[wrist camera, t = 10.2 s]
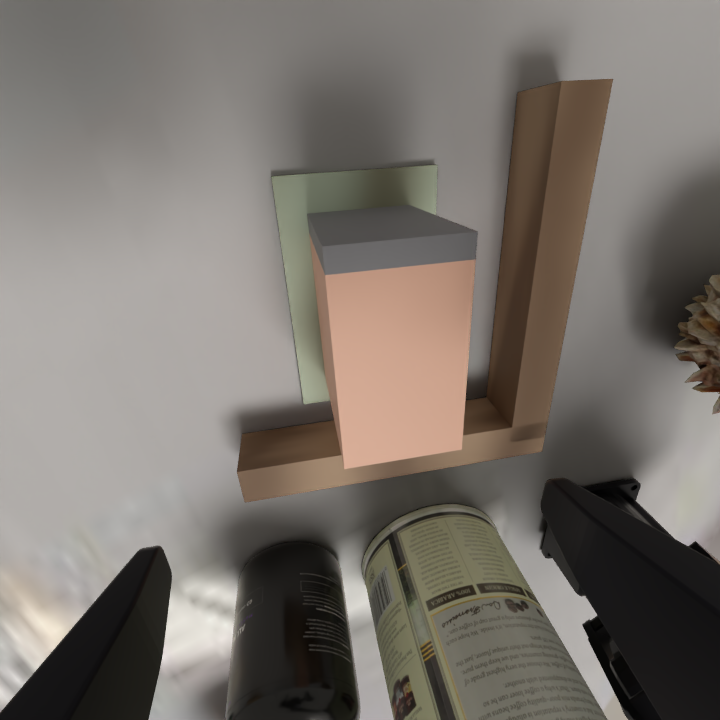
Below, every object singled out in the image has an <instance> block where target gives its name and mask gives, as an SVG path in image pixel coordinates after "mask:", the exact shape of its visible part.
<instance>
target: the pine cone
mask: <svg viewBox="0 0 720 720" xmlns="http://www.w3.org/2000/svg"><path fill="white" fill-rule="evenodd" d="M709 283H710V285H711V286H709V285H704V287H705V290H706V293H707V295H708V297H707V296H705V295H699V296H696V297H694V298H692V299H693V300H695V301H696V303H693V304H689V305H687V306H686V307H685V308H686V309H688V310H689V311H690V312H691V313H692V314H693V316H692V317H689V318H688V319H689V321H688V322H680V323H679V324H678V327H679V329H680V331H681V332H680V333H679V335H681V336H683V337H686V338H685V339H683V340H682V341H680V342H678V343H677V344H676V345H675V346H674V348H676V349H678V350H684V351H687V352H683V353H678V354H675V355H676V356H677V357H678V359H679V360H680V361H692V362H695V363H696V364H697V365H698V367H699V368H700V369H701V370H699V371H697V372H695V373H693V374H692V375H691V376H690V377H689V378H688V379H687V380H686V381H685V383H687V382H695V381H701V382H702V383H700V384H698V385H696V386H695V387H693V388H692V389H695V390H697V391H700V392H719V393H718V394H720V275H712V276H711V278H710V279H709ZM719 412H720V396H719V398H718V400H717V401H716V403H715V405H714V407H713V414H715V413H719Z"/></svg>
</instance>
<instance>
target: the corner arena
mask: <svg viewBox="0 0 720 720" xmlns="http://www.w3.org/2000/svg"><path fill="white" fill-rule="evenodd" d="M612 82H613V79H599V80H577V81H560V82H556V83H553V84H549V85H545V86H541V87H537V88H533V89H529V90H525V91H521V92H518V94H517V103H516V113H515V123H514V133H513V142H512V152H511V162H510V172H509V181H508V191H507V201H506V211H505V220H504V230H503V240H502V250H501V259H500V269H499V279H498V289H497V298H496V308H495V318H494V328H493V337H492V347H491V357H490V367H489V376H488V386H487V396H486V397H485V398H478V399H472V400H465V413H464V427H463V440H462V450H456V451H450V452H444V453H438V454H432V455H426V456H420V457H414V458H409V459H403V460H397V461H391V462H385V463H379V464H373V465H367V466H361V467H355V468H349V469H344V465H343V460H342V455H341V450H340V446H339V441H338V436H337V431H336V426H335V421H334V420H332V421H325V422H318V423H312V424H305V425H298V426H292V427H285V428H278V429H272V430H265V431H258V432H252V433H245V434H242V438H241V446H240V453H239V461H238V468H237V474H238V478H239V482H240V486H241V490H242V494H243V497H244V501H245V502H251V501H257V500H263V499H269V498H274V497H280V496H286V495H292V494H298V493H304V492H309V491H315V490H321V489H327V488H333V487H339V486H344V485H350V484H356V483H362V482H368V481H374V480H379V479H385V478H391V477H397V476H403V475H409V474H414V473H420V472H426V471H432V470H438V469H444V468H449V467H455V466H461V465H467V464H473V463H479V462H484V461H490V460H496V459H502V458H508V457H513V456H519V455H525V454H531V453H537V452H542V449H543V444H544V438H545V433H546V428H547V423H548V417H549V412H550V407H551V402H552V397H553V391H554V386H555V381H556V376H557V370H558V365H559V360H560V355H561V349H562V344H563V339H564V334H565V328H566V323H567V318H568V313H569V307H570V302H571V297H572V292H573V286H574V281H575V276H576V271H577V265H578V260H579V255H580V250H581V245H582V239H583V234H584V229H585V224H586V218H587V213H588V208H589V203H590V197H591V192H592V187H593V182H594V176H595V171H596V166H597V161H598V155H599V150H600V145H601V140H602V134H603V129H604V124H605V119H606V113H607V108H608V103H609V98H610V93H611V87H612ZM271 178H272V185H273V192H274V199H275V206H276V213H277V220H278V227H279V234H280V241H281V248H282V255H283V262H284V269H285V276H286V283H287V290H288V297H289V304H290V311H291V318H292V325H293V332H294V339H295V346H296V353H297V360H298V367H299V374H300V381H301V388H302V395H303V402H304V404H310V403H317V402H324V401H330V397H329V392H328V387H327V383H326V378H325V370H324V361H323V352H322V343H321V334H320V325H319V316H318V308H317V299H316V290H315V281H314V272H313V263H312V254H311V245H310V236H309V227H308V219H307V214H308V213H320V212H332V211H343V210H355V209H367V208H378V207H390V206H402V205H411V206H414V207H416V208H419V209H421V210H424V211H426V212H429V213H431V214H434V215H436V198H437V165H425V166H411V167H397V168H382V169H368V170H354V171H340V172H326V173H311V174H297V175H283V176H271Z"/></svg>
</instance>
